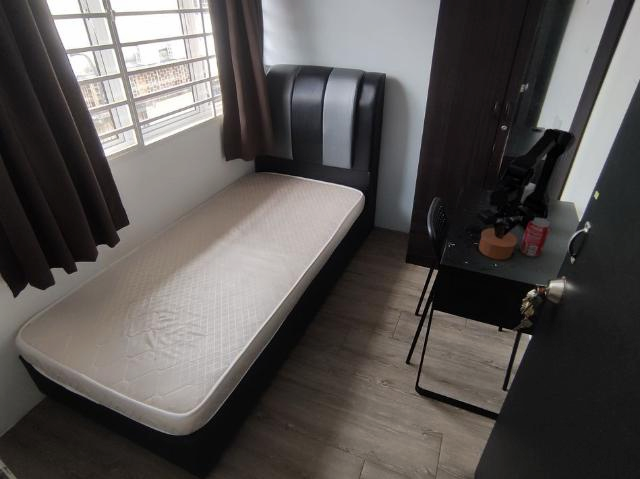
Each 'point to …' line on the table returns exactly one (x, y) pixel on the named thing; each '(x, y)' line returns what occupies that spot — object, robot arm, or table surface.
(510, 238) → the pot lid
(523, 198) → the toilet tissue
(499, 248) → the pot
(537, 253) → the soda can
